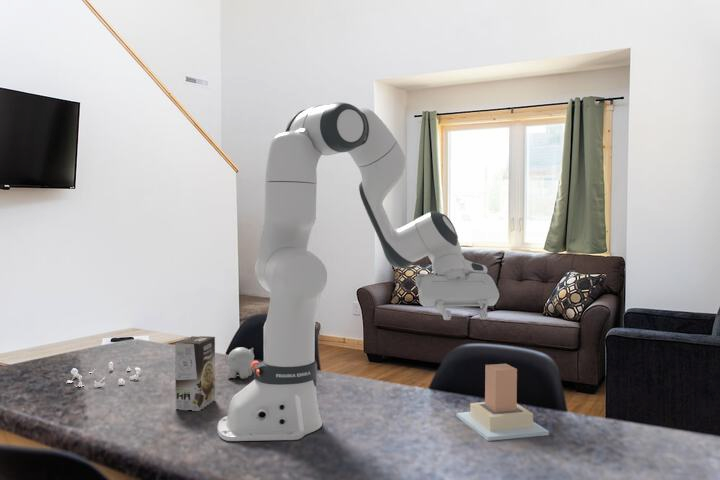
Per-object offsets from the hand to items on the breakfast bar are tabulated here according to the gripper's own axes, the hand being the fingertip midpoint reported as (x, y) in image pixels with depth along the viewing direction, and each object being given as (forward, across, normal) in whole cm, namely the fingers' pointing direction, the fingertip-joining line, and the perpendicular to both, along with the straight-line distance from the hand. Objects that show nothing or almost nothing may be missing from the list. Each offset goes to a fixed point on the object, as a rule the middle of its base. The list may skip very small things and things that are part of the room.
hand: (466, 318), depth 149 cm
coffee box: (+5, -63, +27) cm, 69 cm away
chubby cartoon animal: (-14, -50, +45) cm, 69 cm away
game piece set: (-16, -88, +49) cm, 102 cm away
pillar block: (+23, +2, +2) cm, 23 cm away
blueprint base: (+26, +2, +5) cm, 26 cm away
